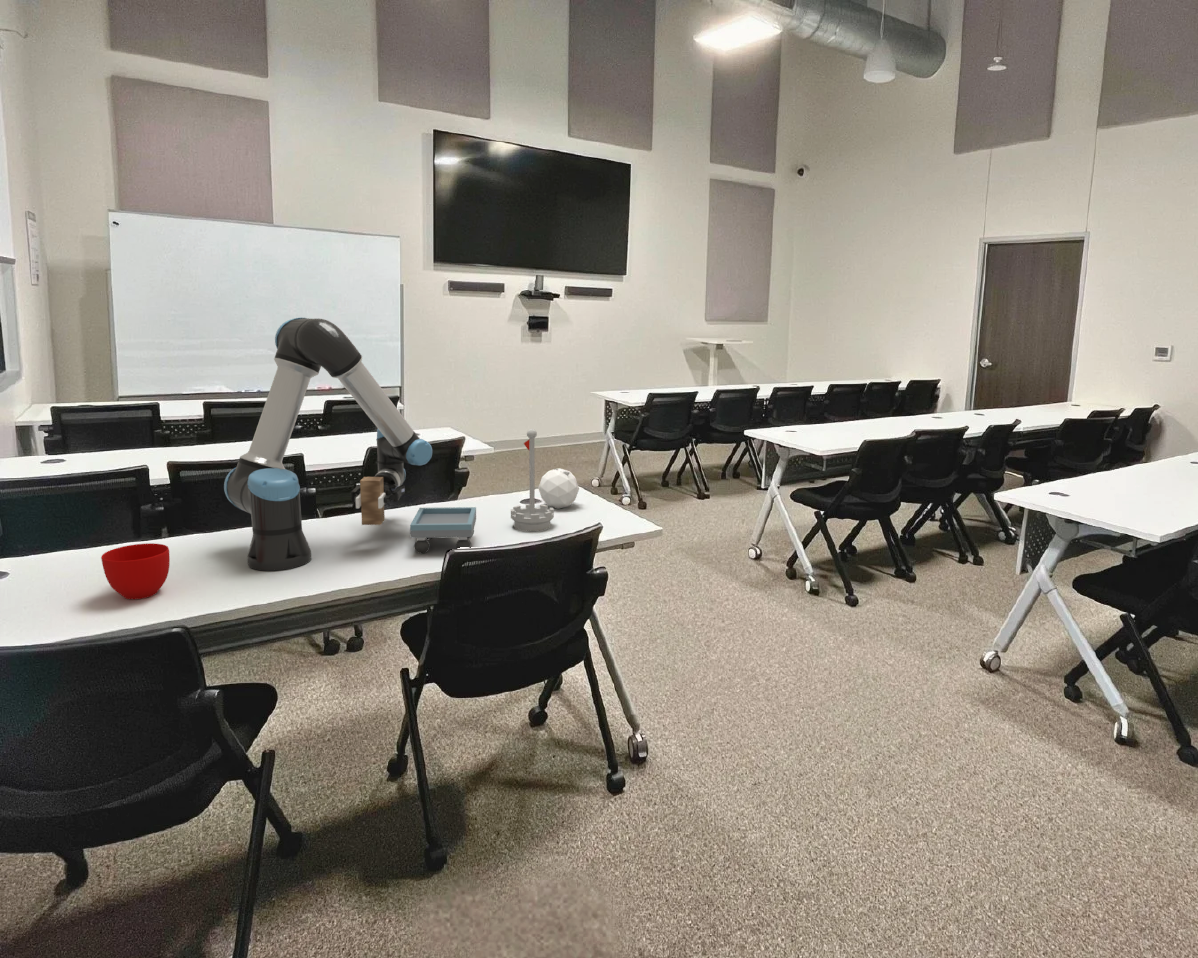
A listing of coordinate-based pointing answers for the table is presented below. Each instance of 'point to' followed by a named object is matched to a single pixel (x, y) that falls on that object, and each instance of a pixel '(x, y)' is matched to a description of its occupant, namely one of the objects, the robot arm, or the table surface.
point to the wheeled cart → (443, 525)
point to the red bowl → (137, 569)
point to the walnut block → (371, 500)
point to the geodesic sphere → (558, 488)
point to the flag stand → (532, 500)
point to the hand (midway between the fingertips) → (368, 503)
